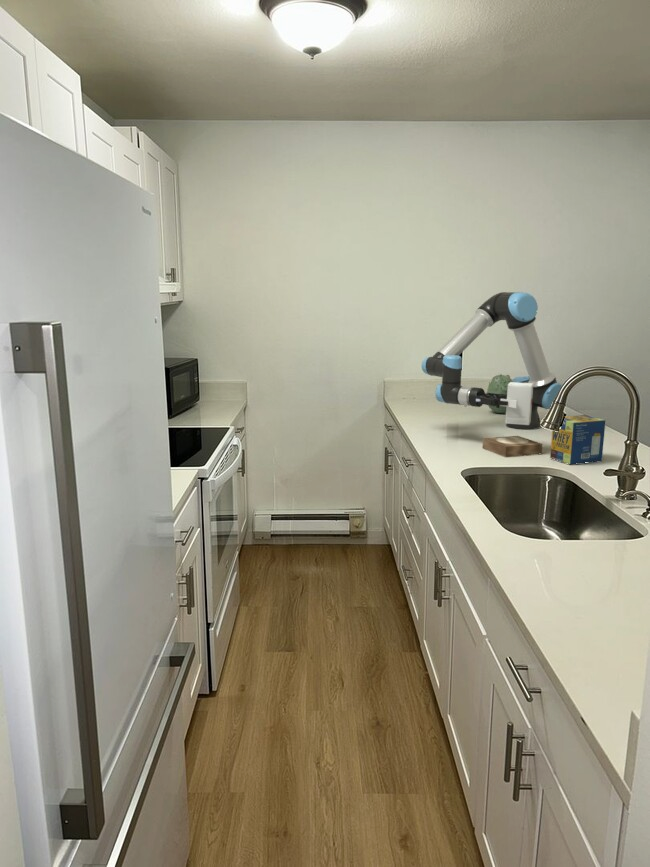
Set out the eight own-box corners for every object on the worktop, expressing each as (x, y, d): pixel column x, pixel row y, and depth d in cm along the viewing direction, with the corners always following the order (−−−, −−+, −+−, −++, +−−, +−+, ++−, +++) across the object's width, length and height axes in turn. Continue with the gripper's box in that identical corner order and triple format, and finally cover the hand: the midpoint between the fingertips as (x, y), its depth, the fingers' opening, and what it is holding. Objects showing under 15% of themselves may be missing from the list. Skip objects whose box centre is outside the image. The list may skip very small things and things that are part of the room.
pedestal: (517, 445, 274) (517, 434, 273) (541, 454, 259) (542, 443, 258) (482, 448, 269) (482, 437, 268) (505, 457, 254) (505, 445, 253)
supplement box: (529, 425, 254) (532, 385, 251) (504, 423, 257) (507, 384, 254) (531, 421, 263) (533, 382, 260) (507, 419, 266) (509, 381, 263)
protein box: (549, 459, 251) (552, 417, 248) (581, 455, 257) (584, 414, 254) (569, 465, 242) (573, 422, 239) (602, 461, 248) (606, 419, 245)
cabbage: (511, 410, 357) (513, 372, 353) (520, 416, 339) (523, 376, 335) (481, 410, 357) (483, 372, 353) (489, 416, 339) (491, 376, 335)
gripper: (486, 402, 281) (536, 408, 267) (456, 409, 264) (508, 416, 249) (487, 384, 279) (538, 389, 265) (457, 390, 262) (510, 395, 248)
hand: (524, 402), depth 257 cm, fingers closed on supplement box, 11 cm apart
